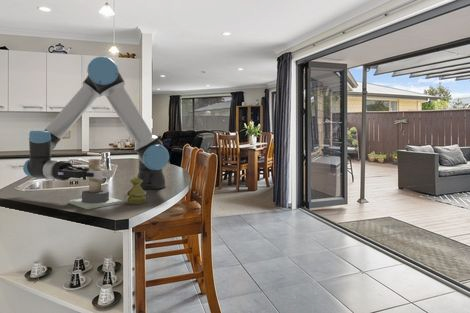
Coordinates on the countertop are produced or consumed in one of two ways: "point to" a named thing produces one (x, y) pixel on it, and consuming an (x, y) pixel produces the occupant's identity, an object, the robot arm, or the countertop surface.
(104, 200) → the socket
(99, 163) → the peg
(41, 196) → the countertop surface
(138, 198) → the olive twisted vase
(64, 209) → the countertop surface
